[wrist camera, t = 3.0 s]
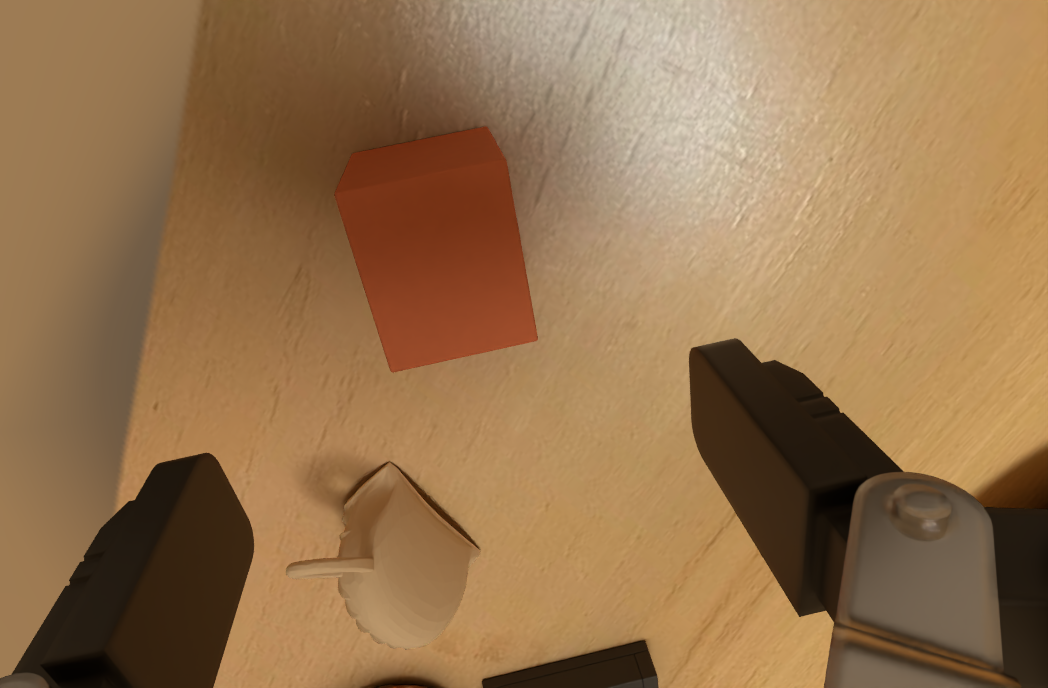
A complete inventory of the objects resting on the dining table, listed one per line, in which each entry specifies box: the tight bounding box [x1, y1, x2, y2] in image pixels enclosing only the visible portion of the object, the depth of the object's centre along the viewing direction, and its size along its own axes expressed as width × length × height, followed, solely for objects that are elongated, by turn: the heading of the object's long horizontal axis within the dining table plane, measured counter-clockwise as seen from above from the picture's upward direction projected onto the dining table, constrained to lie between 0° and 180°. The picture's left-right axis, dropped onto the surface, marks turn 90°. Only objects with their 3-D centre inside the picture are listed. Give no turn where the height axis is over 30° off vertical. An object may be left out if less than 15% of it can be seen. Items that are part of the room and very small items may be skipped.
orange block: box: [334, 126, 538, 372], centre depth 20 cm, size 4×6×5 cm
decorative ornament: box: [286, 462, 481, 650], centre depth 26 cm, size 4×8×5 cm, turn 31°
